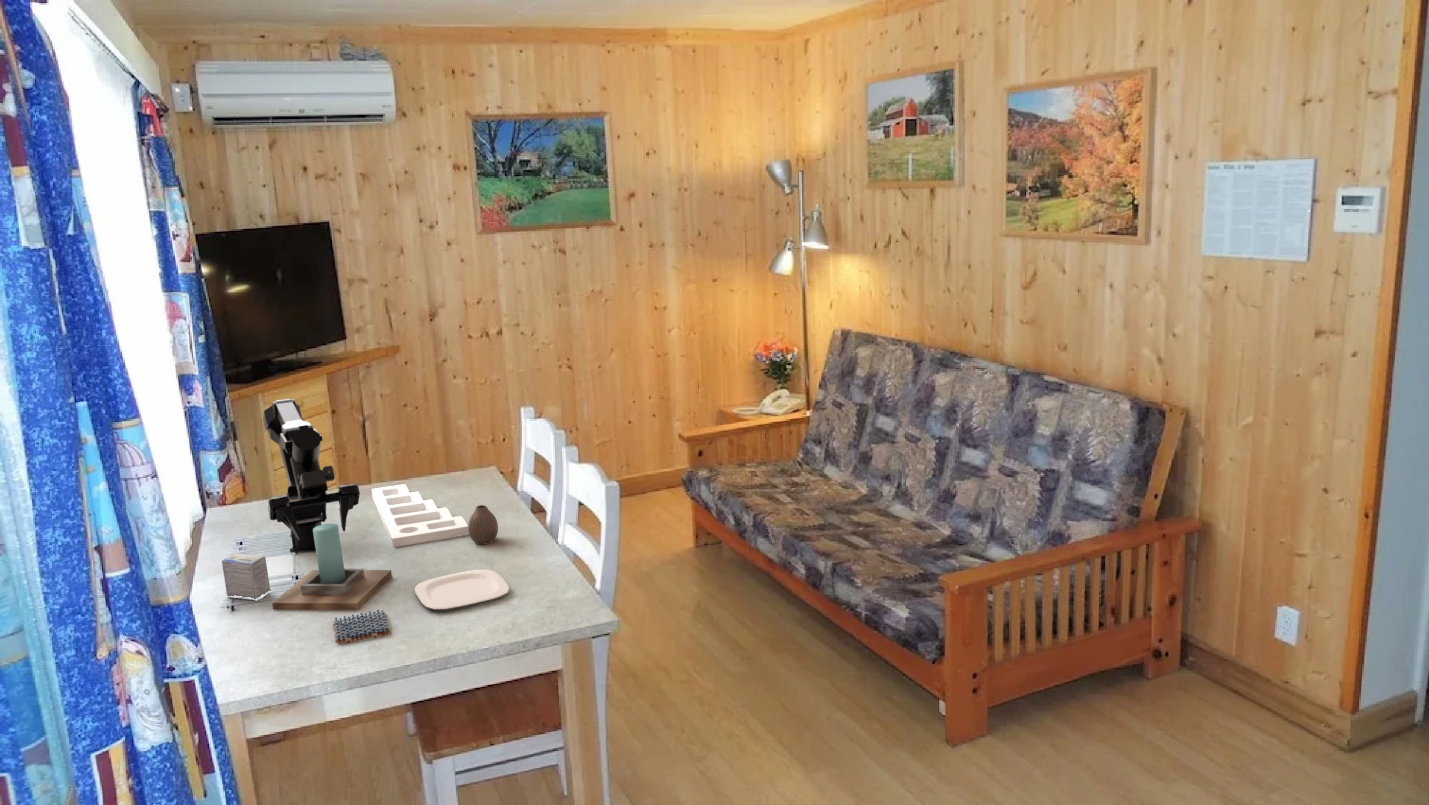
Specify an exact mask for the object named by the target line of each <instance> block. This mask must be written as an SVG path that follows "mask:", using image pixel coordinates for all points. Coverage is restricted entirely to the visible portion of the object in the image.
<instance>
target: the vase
mask: <svg viewBox="0 0 1429 805" xmlns="http://www.w3.org/2000/svg"><path fill="white" fill-rule="evenodd" d="M467 525H468V530H469V537H470V538H471V540H472V541H473V542H474V543H475V544H477V543H478V544H477V545H486V544H485V543H488V544H490V543H489V542H491V541H492V542H494V540H495V539H496V538H497V536H498V533H499V532H498V531H499V524H498V521H497V518H496V516H495V514H494V513H492V511H491V510H490V509H489V508H488V506H487V505H484V504H481V505H477V506H476V507H475V510H474V512H473V513H472V514H471V516H470V518H469V520H468V524H467ZM492 542H491V543H492Z"/></svg>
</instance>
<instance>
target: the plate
mask: <svg viewBox="0 0 1429 805" xmlns="http://www.w3.org/2000/svg"><path fill="white" fill-rule="evenodd" d="M510 589H511V588H510V586H509V584H508V582H506V580H505V579H504V578H503V577H502V575H500V573H499V574H498V572H496V571H493V570H490V569H472V570H466V571H462V572H456V573H451V574H445V575H442V576H438V577H434V578H429V579H425V580H424V581H422V582H418V584H417V585H416V586H415V587H414V593H415V596H416V597H417V599H418V600H419V602H420V603H421V604H422V605H423V606H424V607H425V608H426V609H429V610H433V611H447V610H455V609H460V608H466V607H470V606H474V605H479V604H482V603H486V602H490V601H496V600H497V599H500V598H502V597H504V596H506V595H508V593H509V592H510Z"/></svg>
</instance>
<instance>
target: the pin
mask: <svg viewBox="0 0 1429 805" xmlns="http://www.w3.org/2000/svg"><path fill="white" fill-rule="evenodd" d="M313 534H314V541H315V548H316V551H315V553H316V561H317V565H318V566H317V567H318V568H317V569H318V570H319V575H320V581H321V584H342V583H344V582H345V581H346V578H345V571H344V569H345V565H344V557H343V552H342V543H341V537H340V532H339V525H338V524H337V523H325V524H321V525H319V526H317V527H315V528H313Z"/></svg>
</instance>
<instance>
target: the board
mask: <svg viewBox="0 0 1429 805" xmlns="http://www.w3.org/2000/svg"><path fill="white" fill-rule="evenodd" d="M344 571H345V578H346V581H345V582H344V583H342V584H321V581H320V575H319V569H312V570H311V571H310V572H309V573H307V574H305V575H304V576H303V577H302V578H300V580H299V581H297V582H296V583H295V584H293V585H292V586H291V587H290V588H289V589H287V590H286V591H285V592H283V594H281V595H280V596H279V597H277V598H276V599H274V601H272V602H271V605H272V610H273V609H276V610H275V611H279V610H280V611H281V610H282V611H284V610H285V611H358V610H359V609H360V608H361V607H363V605H364V604H365V603H367V601H368V600H370V599H371V598H372V597H373V596H374V594H376V593H377V591H379V590H380V589H381V588H382V587H383V586H384V585H385V584H386V583H387V582H388V581H389V580H390V579H391V578H392V574H393V573H392V569H364V568H344Z"/></svg>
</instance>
